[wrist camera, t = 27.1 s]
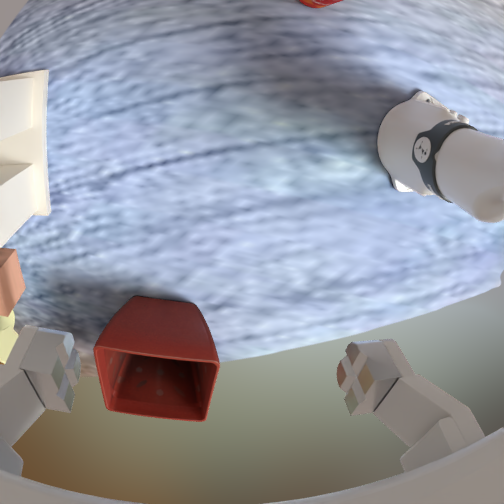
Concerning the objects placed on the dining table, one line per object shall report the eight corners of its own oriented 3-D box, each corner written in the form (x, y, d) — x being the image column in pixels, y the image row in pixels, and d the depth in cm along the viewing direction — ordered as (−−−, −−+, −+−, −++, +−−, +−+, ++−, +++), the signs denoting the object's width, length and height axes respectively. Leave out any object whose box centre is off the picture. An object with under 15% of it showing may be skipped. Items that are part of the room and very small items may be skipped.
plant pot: (118, 348, 64) (105, 411, 49) (114, 278, 54) (92, 345, 40) (203, 358, 68) (205, 422, 53) (216, 291, 59) (221, 361, 44)
